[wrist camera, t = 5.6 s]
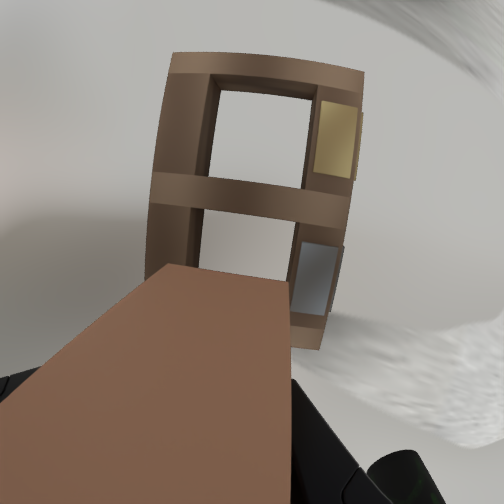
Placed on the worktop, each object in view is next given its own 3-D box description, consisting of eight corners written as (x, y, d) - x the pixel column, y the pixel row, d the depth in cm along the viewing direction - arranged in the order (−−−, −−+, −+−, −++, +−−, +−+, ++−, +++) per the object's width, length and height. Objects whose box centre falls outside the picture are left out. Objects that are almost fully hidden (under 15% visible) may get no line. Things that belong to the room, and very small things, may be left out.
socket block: (354, 89, 16) (369, 71, 12) (316, 327, 19) (322, 352, 16) (188, 70, 16) (171, 51, 13) (162, 301, 19) (142, 321, 16)
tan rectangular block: (288, 281, 10) (282, 615, 1) (270, 381, 11) (239, 623, 2) (168, 263, 10) (-58, 460, 1) (166, 361, 11) (48, 559, 2)
